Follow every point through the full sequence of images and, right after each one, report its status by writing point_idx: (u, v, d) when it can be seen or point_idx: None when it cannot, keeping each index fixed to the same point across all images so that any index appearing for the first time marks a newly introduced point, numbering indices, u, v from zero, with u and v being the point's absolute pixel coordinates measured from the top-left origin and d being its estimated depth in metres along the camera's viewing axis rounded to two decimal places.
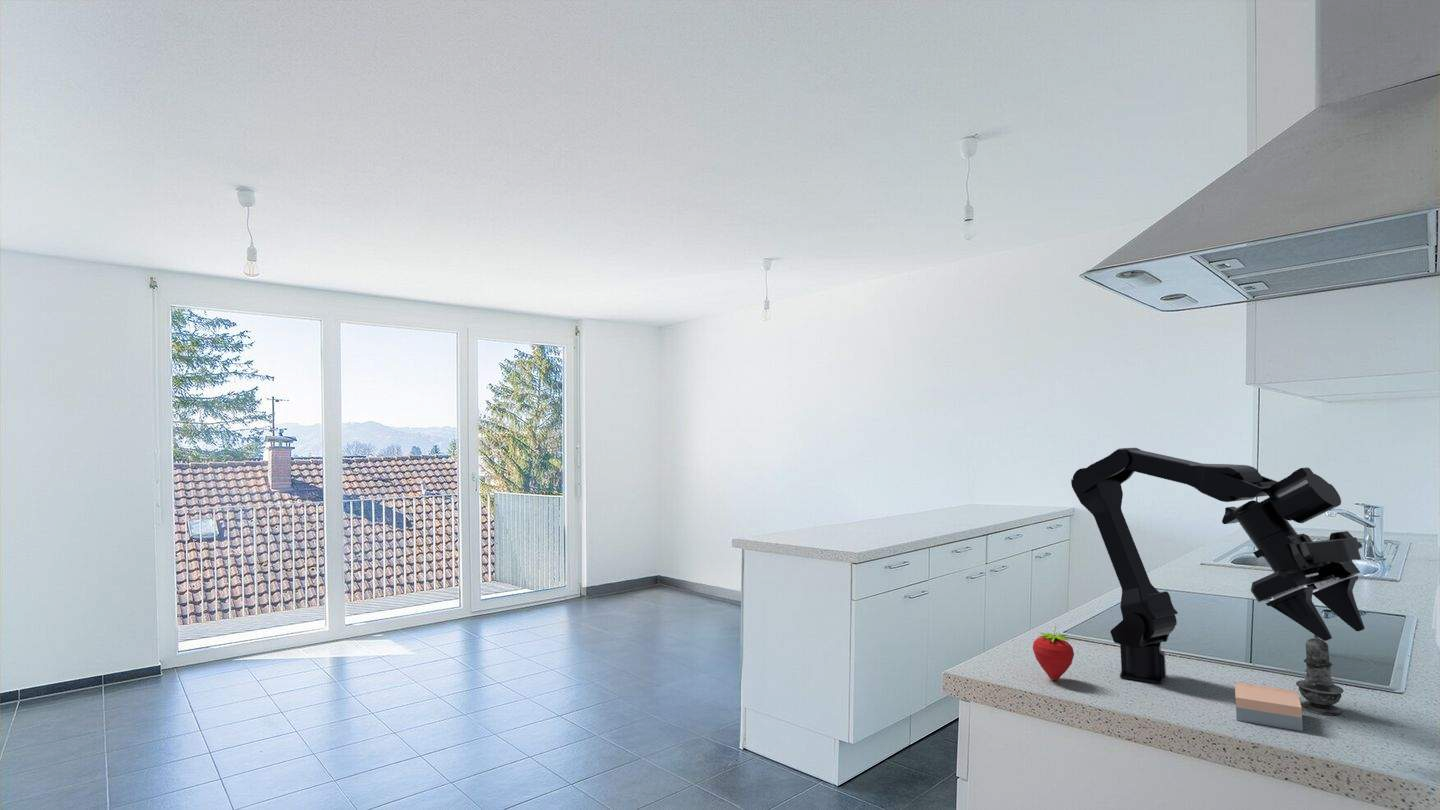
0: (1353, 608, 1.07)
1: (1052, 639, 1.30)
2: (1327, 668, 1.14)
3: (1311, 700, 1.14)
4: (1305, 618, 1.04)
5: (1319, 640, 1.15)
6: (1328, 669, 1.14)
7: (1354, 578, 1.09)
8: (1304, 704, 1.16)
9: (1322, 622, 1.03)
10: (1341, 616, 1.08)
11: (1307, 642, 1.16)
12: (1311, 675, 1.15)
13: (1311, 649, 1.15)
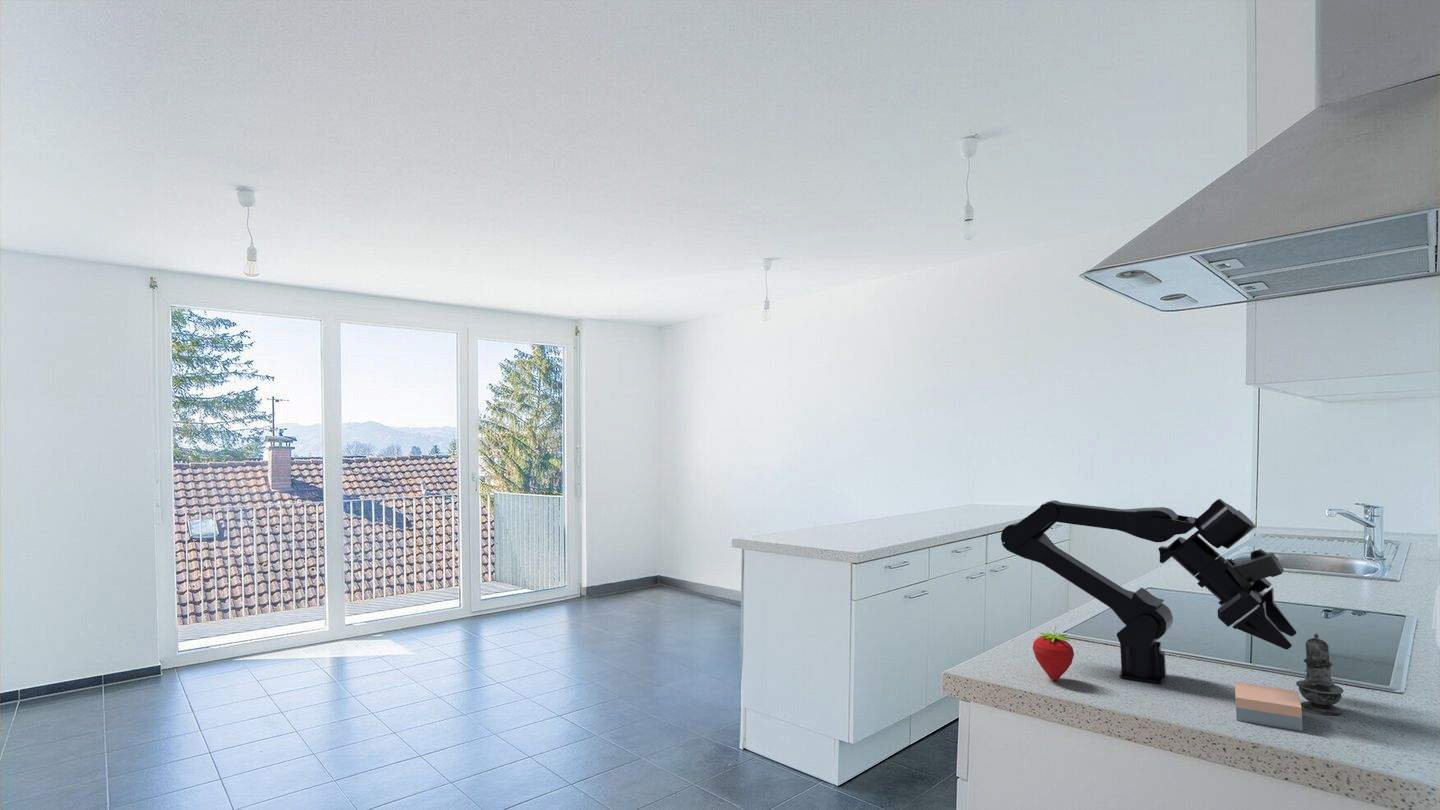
0: (1282, 616, 1.22)
1: (1052, 639, 1.30)
2: (1327, 668, 1.14)
3: (1311, 700, 1.14)
4: (1267, 632, 1.15)
5: (1319, 640, 1.15)
6: (1328, 669, 1.14)
7: (1272, 590, 1.24)
8: (1304, 704, 1.16)
9: (1281, 632, 1.15)
10: (1274, 626, 1.23)
11: (1307, 642, 1.16)
12: (1311, 675, 1.15)
13: (1311, 649, 1.15)
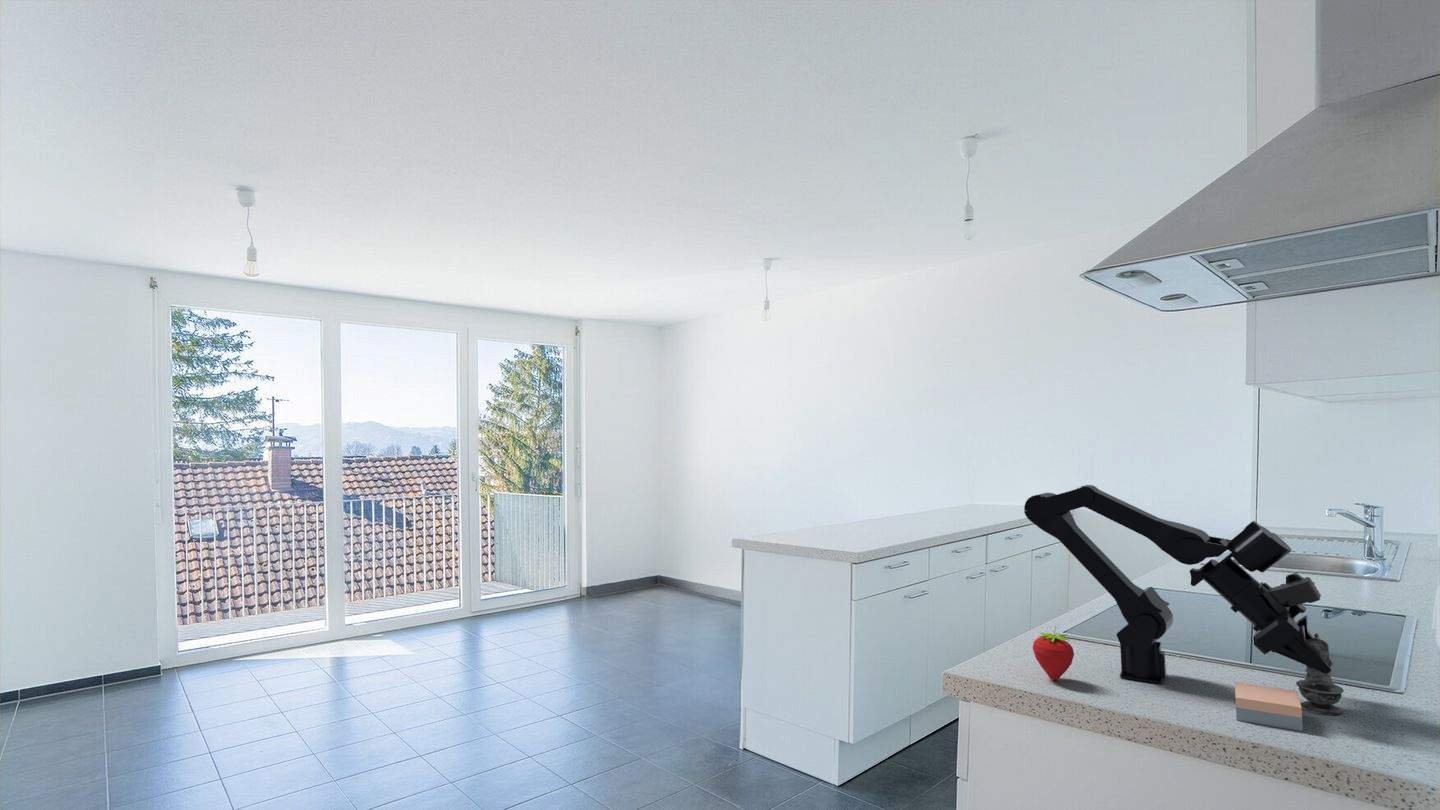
0: None
1: (1052, 639, 1.30)
2: None
3: (1311, 700, 1.14)
4: (1306, 656, 1.14)
5: (1319, 640, 1.15)
6: None
7: (1306, 618, 1.19)
8: (1304, 704, 1.16)
9: (1320, 656, 1.13)
10: None
11: None
12: (1311, 674, 1.15)
13: None
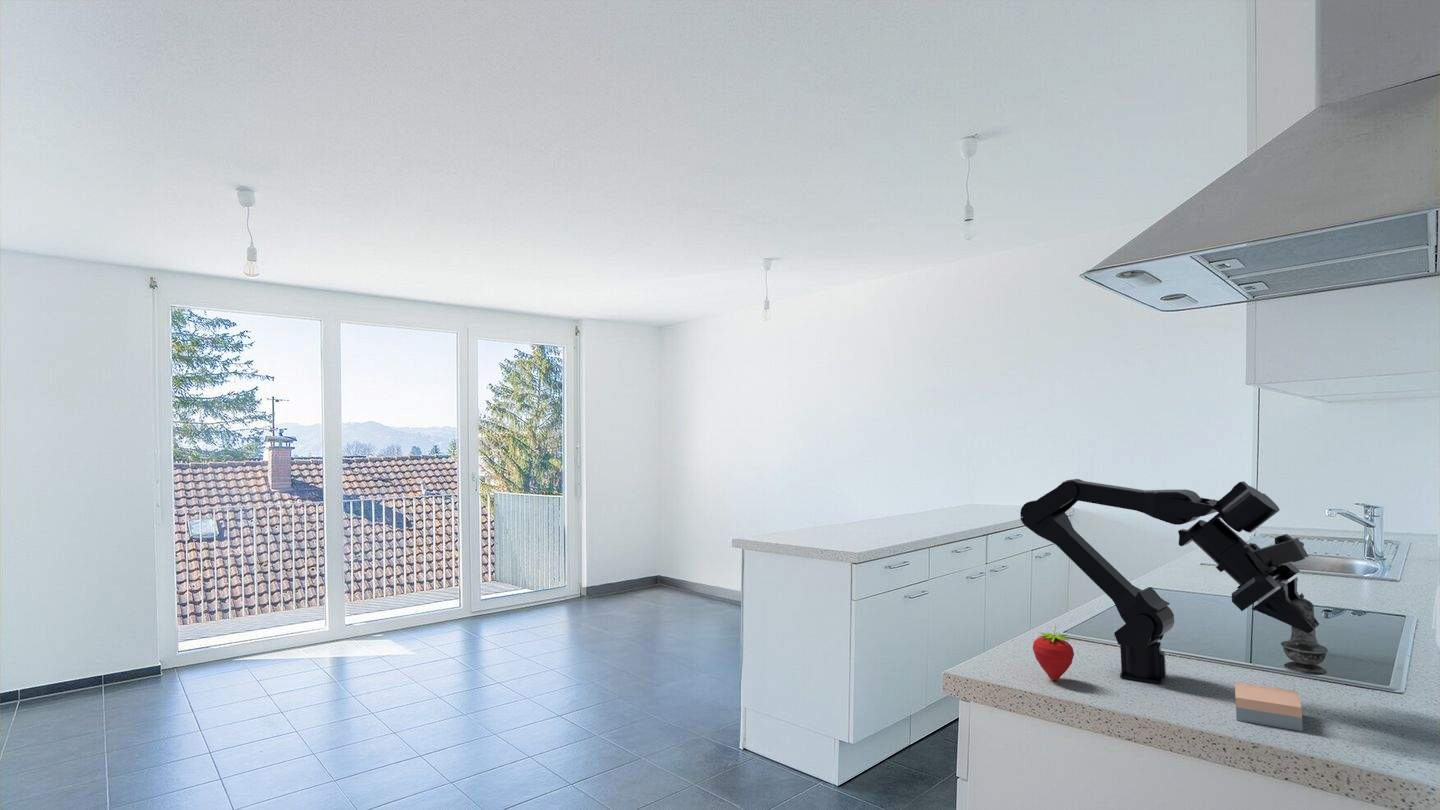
0: None
1: (1052, 639, 1.30)
2: None
3: (1294, 659, 1.14)
4: (1288, 615, 1.13)
5: (1304, 600, 1.14)
6: None
7: (1296, 579, 1.18)
8: (1288, 664, 1.15)
9: (1302, 616, 1.13)
10: None
11: (1292, 602, 1.15)
12: (1295, 634, 1.14)
13: None
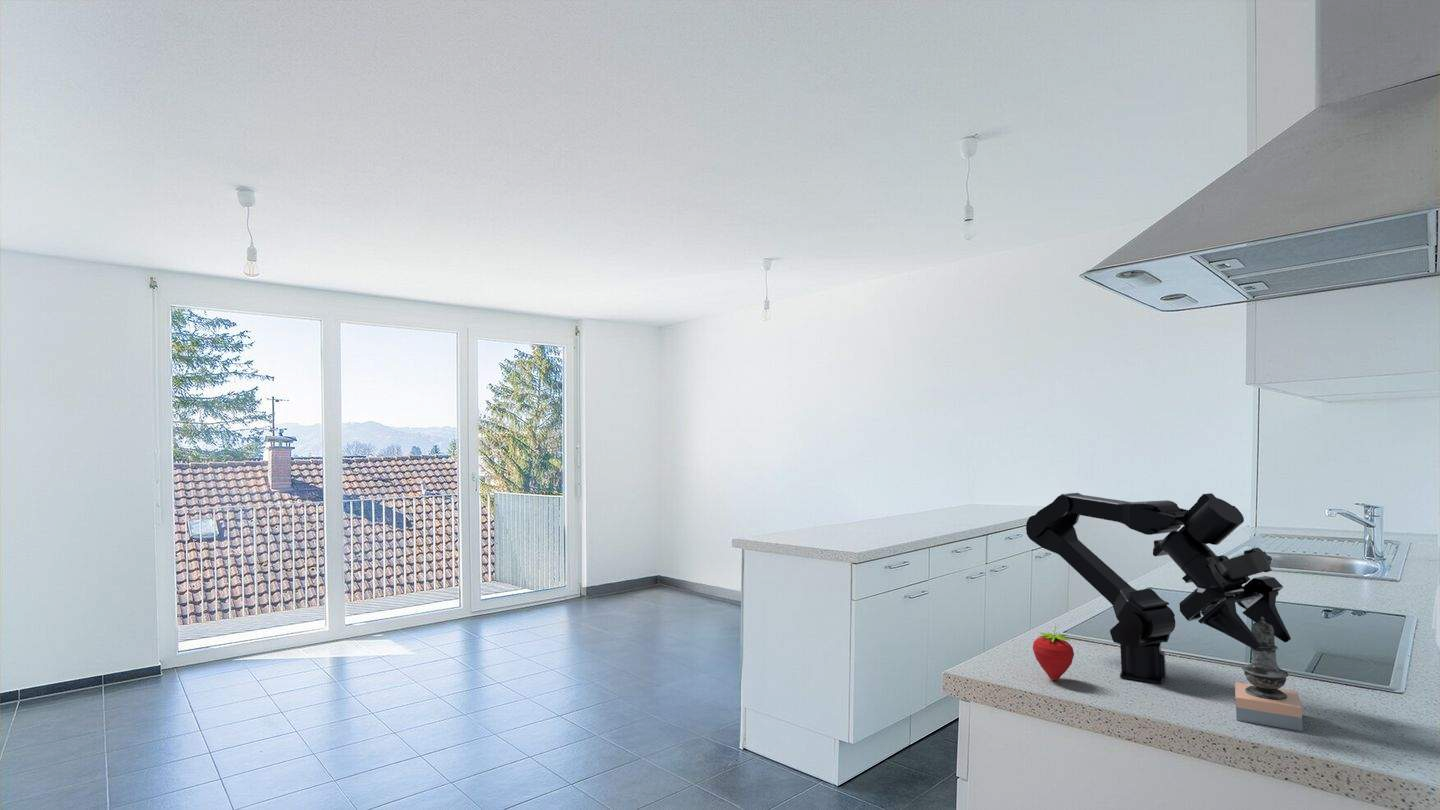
0: (1277, 620, 1.15)
1: (1052, 639, 1.30)
2: (1268, 652, 1.12)
3: (1251, 682, 1.13)
4: (1234, 630, 1.12)
5: (1263, 623, 1.13)
6: (1269, 653, 1.12)
7: (1274, 592, 1.17)
8: (1249, 687, 1.14)
9: (1249, 631, 1.11)
10: None
11: None
12: (1253, 657, 1.13)
13: (1253, 632, 1.13)
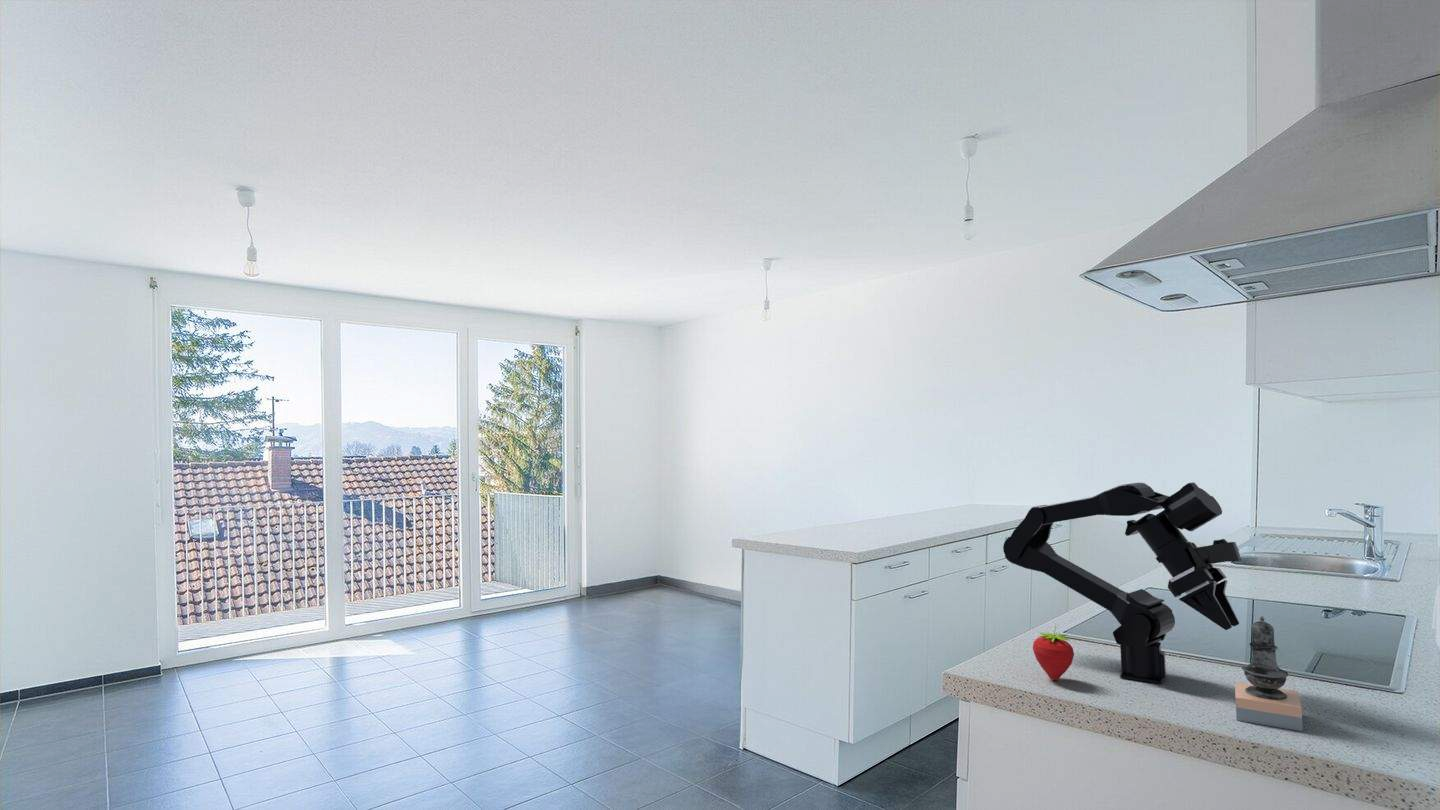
0: (1229, 606, 1.25)
1: (1052, 639, 1.30)
2: (1268, 651, 1.12)
3: (1251, 682, 1.13)
4: (1211, 610, 1.18)
5: (1263, 623, 1.13)
6: (1269, 653, 1.12)
7: (1226, 581, 1.27)
8: (1249, 687, 1.14)
9: (1224, 613, 1.17)
10: None
11: None
12: (1253, 657, 1.13)
13: (1253, 632, 1.13)
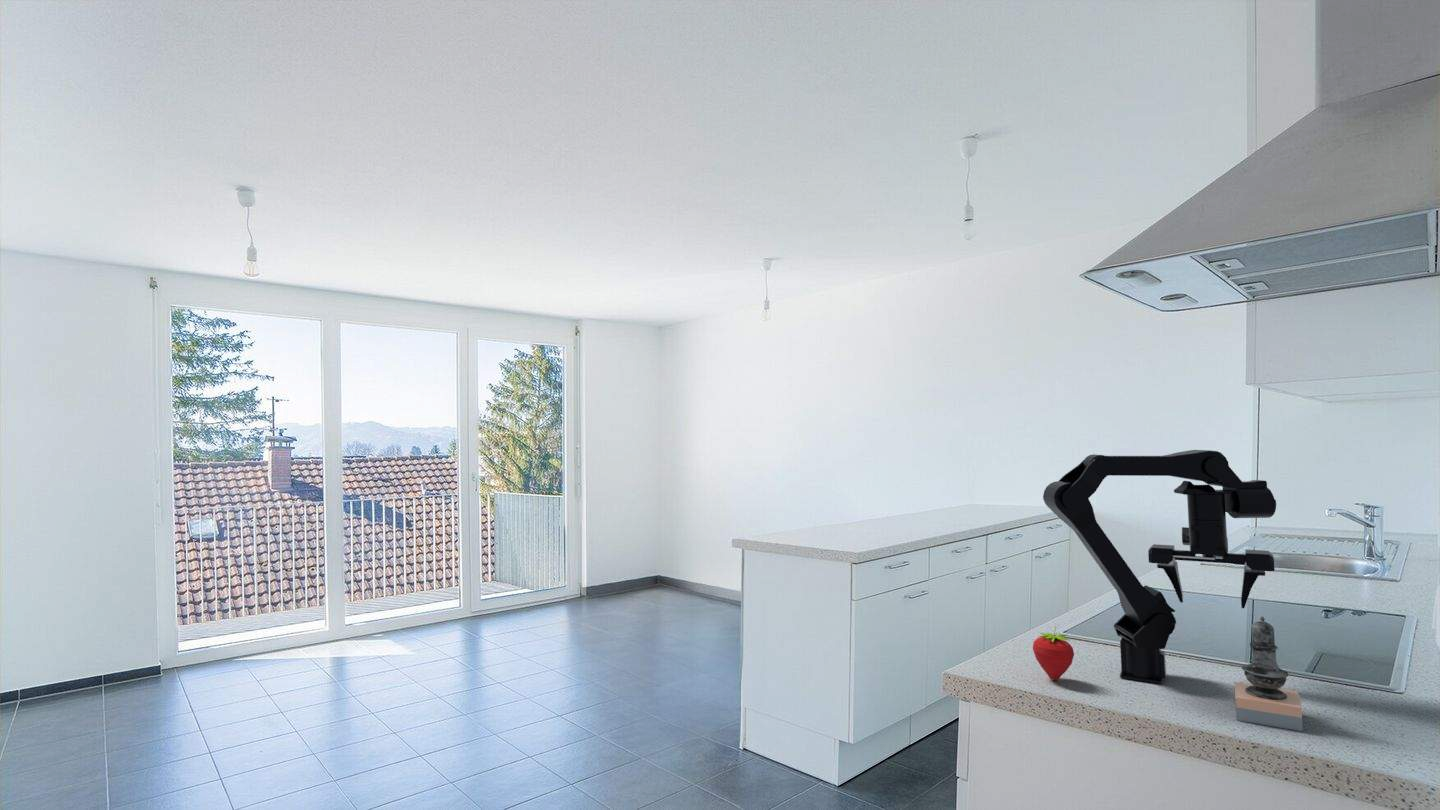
0: (1179, 584, 1.34)
1: (1052, 639, 1.30)
2: (1268, 651, 1.12)
3: (1251, 682, 1.13)
4: None
5: (1263, 623, 1.13)
6: (1269, 653, 1.12)
7: None
8: (1249, 687, 1.14)
9: None
10: (1180, 589, 1.33)
11: None
12: (1253, 657, 1.13)
13: (1253, 632, 1.13)
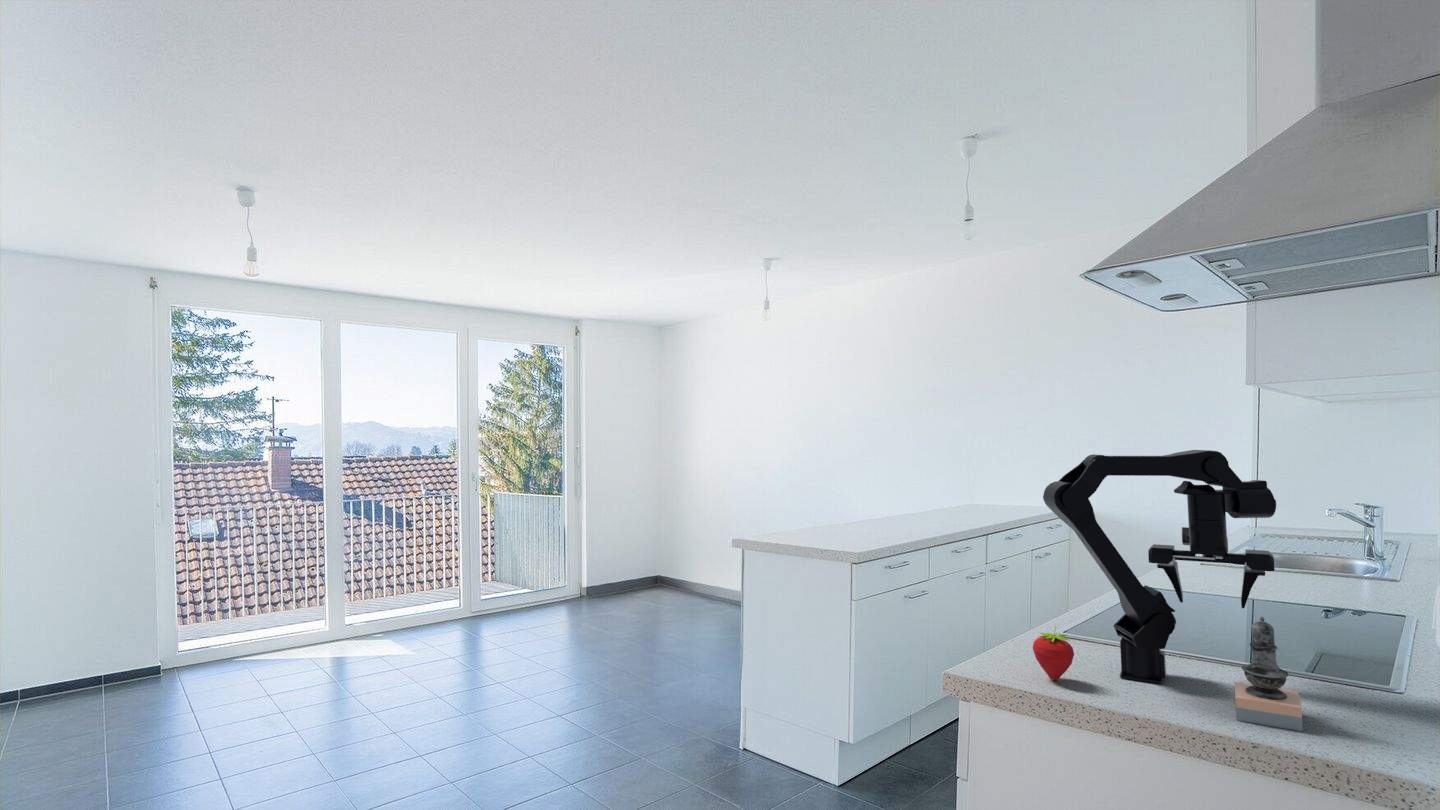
0: (1179, 584, 1.34)
1: (1052, 639, 1.30)
2: (1268, 652, 1.12)
3: (1251, 682, 1.13)
4: None
5: (1263, 623, 1.13)
6: (1269, 653, 1.12)
7: None
8: (1249, 687, 1.14)
9: None
10: (1180, 589, 1.33)
11: None
12: (1253, 657, 1.13)
13: (1253, 632, 1.13)
